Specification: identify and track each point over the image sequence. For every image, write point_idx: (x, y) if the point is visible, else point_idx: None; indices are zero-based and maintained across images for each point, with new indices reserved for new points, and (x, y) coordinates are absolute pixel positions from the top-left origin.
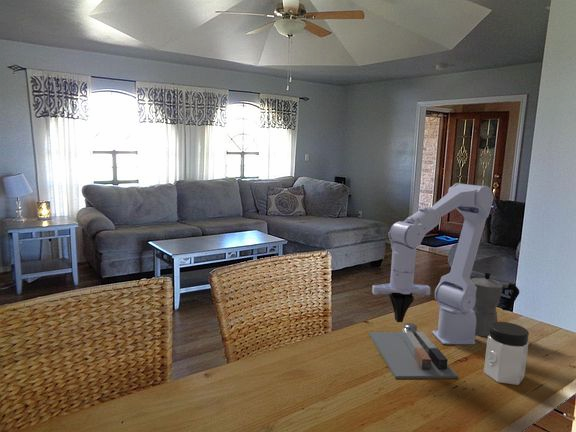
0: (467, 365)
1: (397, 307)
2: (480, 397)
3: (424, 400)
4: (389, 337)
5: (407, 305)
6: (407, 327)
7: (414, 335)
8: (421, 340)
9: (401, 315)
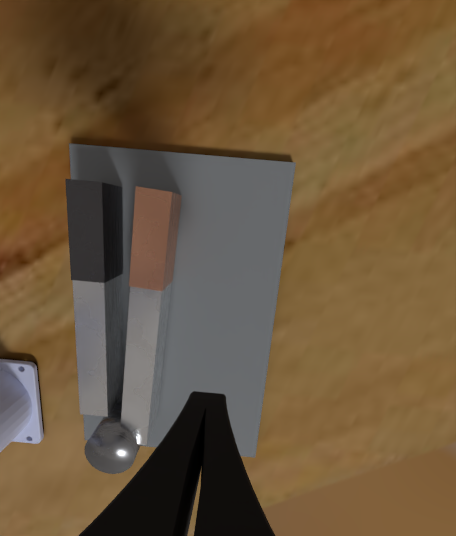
0: (7, 225)
1: (249, 511)
2: (45, 5)
3: (255, 4)
4: None
5: (119, 530)
6: (128, 441)
7: (115, 408)
8: (109, 353)
9: (199, 427)
